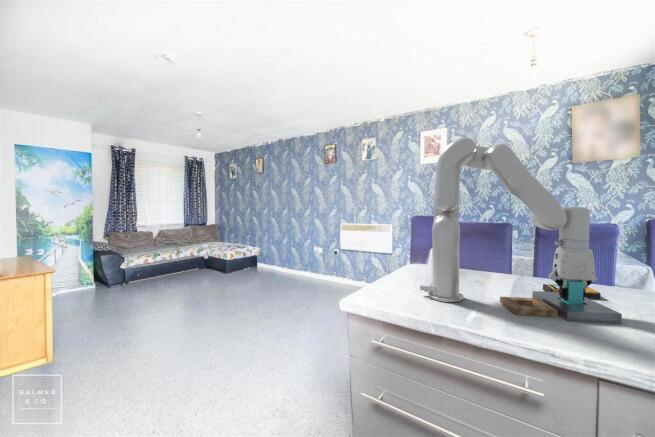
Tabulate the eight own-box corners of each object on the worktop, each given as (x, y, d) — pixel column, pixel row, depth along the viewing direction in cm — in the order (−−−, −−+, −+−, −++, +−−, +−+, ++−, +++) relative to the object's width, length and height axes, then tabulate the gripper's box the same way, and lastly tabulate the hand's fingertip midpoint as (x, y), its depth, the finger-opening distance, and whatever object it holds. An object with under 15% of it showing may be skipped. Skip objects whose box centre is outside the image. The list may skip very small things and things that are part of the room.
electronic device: (601, 301, 103) (602, 292, 103) (550, 297, 109) (550, 288, 109) (589, 294, 111) (590, 286, 111) (542, 290, 117) (542, 282, 117)
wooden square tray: (515, 314, 91) (515, 308, 91) (499, 302, 103) (499, 296, 103) (557, 316, 89) (557, 310, 89) (536, 303, 101) (536, 298, 101)
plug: (568, 308, 93) (569, 281, 92) (561, 304, 97) (561, 278, 96) (582, 309, 92) (583, 282, 91) (574, 305, 96) (575, 278, 95)
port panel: (567, 321, 86) (567, 311, 86) (532, 299, 105) (532, 291, 105) (621, 323, 83) (621, 313, 83) (575, 300, 103) (575, 292, 103)
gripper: (551, 245, 91) (550, 301, 92) (612, 246, 88) (610, 304, 89) (538, 242, 98) (537, 294, 99) (594, 243, 95) (592, 296, 96)
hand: (571, 298), depth 94 cm, fingers closed on plug, 3 cm apart
